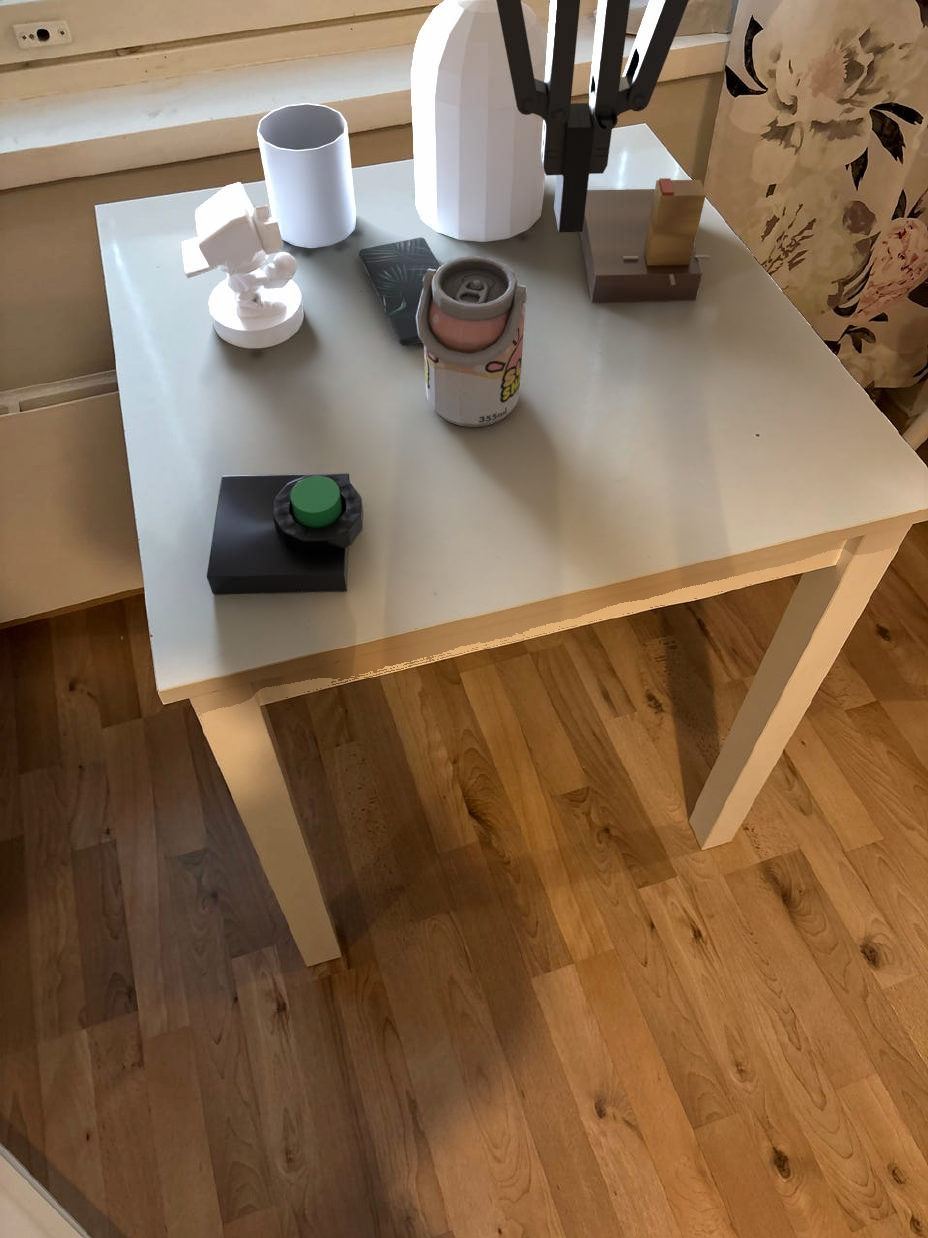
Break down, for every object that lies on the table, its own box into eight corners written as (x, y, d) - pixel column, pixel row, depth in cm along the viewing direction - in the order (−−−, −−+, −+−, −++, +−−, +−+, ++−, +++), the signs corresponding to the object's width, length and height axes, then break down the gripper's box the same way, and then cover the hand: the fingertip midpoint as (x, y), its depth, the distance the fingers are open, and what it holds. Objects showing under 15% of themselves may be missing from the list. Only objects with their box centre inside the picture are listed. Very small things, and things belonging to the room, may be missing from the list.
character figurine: (309, 340, 87) (290, 221, 77) (205, 356, 86) (172, 236, 76) (297, 282, 92) (277, 163, 82) (198, 296, 91) (166, 176, 81)
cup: (352, 248, 95) (342, 151, 87) (270, 247, 95) (252, 150, 87) (358, 200, 100) (349, 103, 92) (280, 199, 100) (264, 102, 92)
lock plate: (710, 311, 90) (717, 282, 87) (593, 313, 90) (597, 284, 87) (683, 215, 99) (689, 186, 96) (577, 216, 98) (580, 188, 96)
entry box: (363, 591, 71) (359, 558, 68) (212, 594, 71) (200, 561, 67) (367, 491, 77) (363, 456, 73) (227, 494, 76) (216, 459, 73)
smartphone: (423, 235, 95) (472, 325, 87) (424, 244, 96) (472, 334, 87) (357, 248, 94) (400, 341, 85) (358, 257, 94) (400, 350, 86)
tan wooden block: (685, 249, 90) (701, 176, 84) (689, 265, 89) (706, 192, 83) (643, 249, 90) (656, 177, 84) (647, 265, 89) (660, 193, 83)
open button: (341, 527, 70) (338, 512, 68) (292, 528, 70) (288, 513, 68) (343, 491, 72) (340, 475, 70) (295, 492, 72) (292, 476, 70)
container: (567, 221, 98) (589, 9, 81) (450, 256, 94) (448, 41, 78) (506, 157, 105) (515, -52, 88) (395, 186, 101) (383, -24, 85)
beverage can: (504, 450, 79) (511, 333, 69) (408, 430, 81) (401, 312, 71) (530, 377, 84) (540, 259, 75) (439, 359, 86) (437, 241, 76)
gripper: (750, -317, 43) (660, 183, 62) (459, -313, 42) (461, 189, 61) (792, -270, 38) (682, 252, 58) (469, -265, 38) (467, 259, 57)
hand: (568, 219), depth 59 cm, fingers closed
